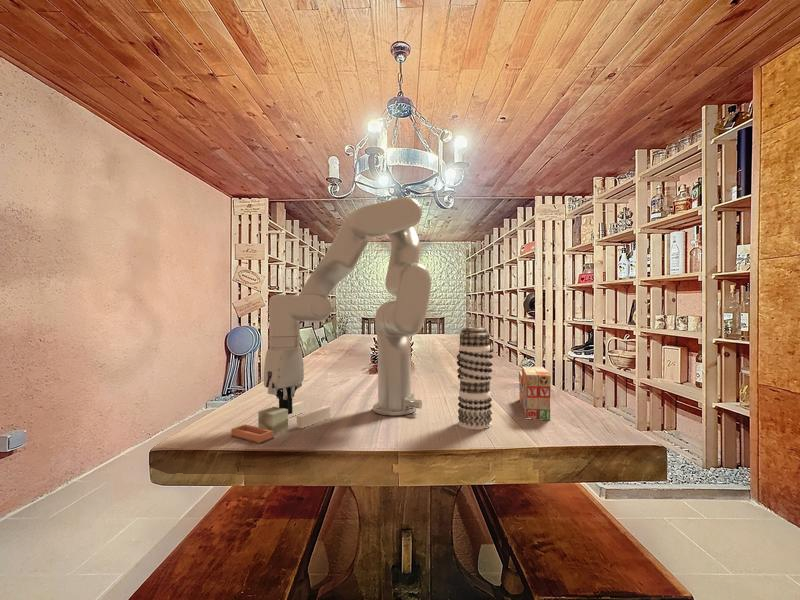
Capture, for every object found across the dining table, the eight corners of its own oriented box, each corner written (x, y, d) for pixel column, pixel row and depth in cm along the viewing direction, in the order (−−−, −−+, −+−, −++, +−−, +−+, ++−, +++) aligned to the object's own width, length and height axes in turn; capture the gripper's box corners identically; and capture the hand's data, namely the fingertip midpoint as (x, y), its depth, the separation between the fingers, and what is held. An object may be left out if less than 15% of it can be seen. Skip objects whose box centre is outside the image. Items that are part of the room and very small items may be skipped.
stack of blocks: (518, 399, 133) (518, 361, 133) (539, 400, 132) (539, 361, 132) (526, 419, 112) (526, 373, 112) (550, 421, 111) (550, 374, 111)
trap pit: (273, 438, 99) (273, 431, 98) (260, 443, 95) (259, 436, 95) (245, 431, 104) (245, 424, 104) (231, 436, 100) (231, 428, 100)
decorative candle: (499, 428, 104) (498, 328, 104) (463, 431, 103) (462, 329, 102) (485, 418, 113) (485, 325, 113) (452, 420, 112) (452, 326, 111)
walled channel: (330, 417, 115) (330, 406, 115) (301, 428, 105) (301, 417, 105) (300, 411, 121) (300, 401, 121) (270, 422, 111) (270, 410, 111)
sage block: (288, 429, 105) (287, 409, 105) (272, 434, 101) (272, 414, 101) (274, 426, 108) (273, 406, 108) (258, 431, 104) (258, 411, 104)
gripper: (295, 339, 116) (296, 404, 117) (251, 345, 104) (252, 419, 104) (315, 340, 113) (316, 408, 113) (272, 346, 100) (273, 423, 100)
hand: (285, 413), depth 108 cm, fingers closed
